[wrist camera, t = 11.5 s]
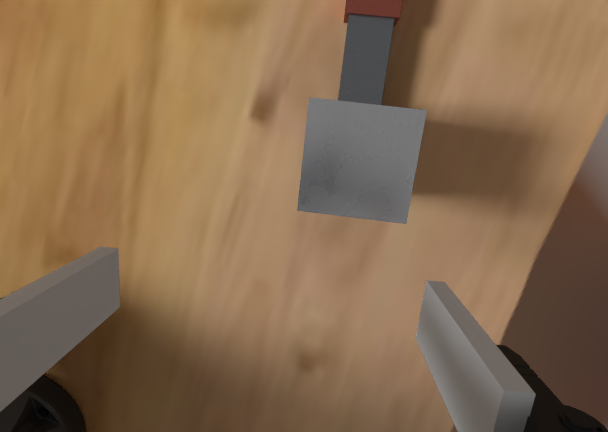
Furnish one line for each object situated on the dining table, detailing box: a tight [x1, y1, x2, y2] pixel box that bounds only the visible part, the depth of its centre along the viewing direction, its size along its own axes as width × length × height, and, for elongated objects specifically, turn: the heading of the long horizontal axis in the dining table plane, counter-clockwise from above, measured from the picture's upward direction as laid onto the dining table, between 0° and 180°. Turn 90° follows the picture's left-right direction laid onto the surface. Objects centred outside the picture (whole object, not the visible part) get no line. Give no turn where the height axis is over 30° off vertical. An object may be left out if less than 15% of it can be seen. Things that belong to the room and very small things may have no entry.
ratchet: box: [338, 0, 402, 105], centre depth 28 cm, size 5×24×7 cm, turn 174°
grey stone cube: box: [297, 97, 427, 224], centre depth 26 cm, size 7×7×8 cm
